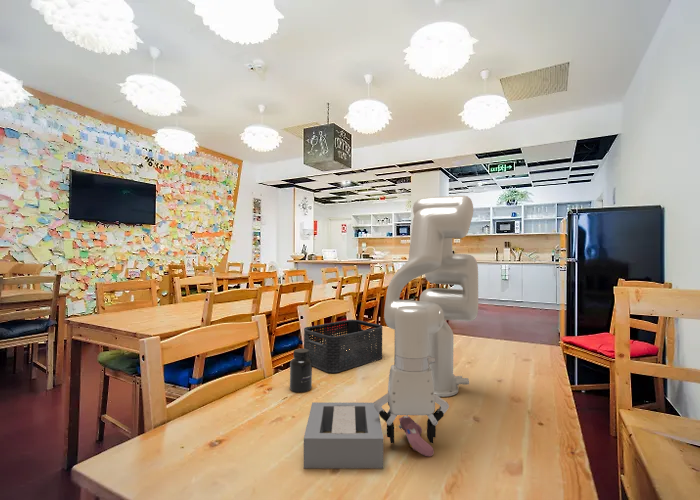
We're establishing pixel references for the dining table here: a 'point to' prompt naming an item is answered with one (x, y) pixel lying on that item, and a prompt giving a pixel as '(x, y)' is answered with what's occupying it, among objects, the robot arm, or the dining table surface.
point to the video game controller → (415, 436)
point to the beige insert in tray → (344, 420)
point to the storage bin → (343, 345)
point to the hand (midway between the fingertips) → (410, 439)
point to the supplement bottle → (301, 371)
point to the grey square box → (343, 439)
